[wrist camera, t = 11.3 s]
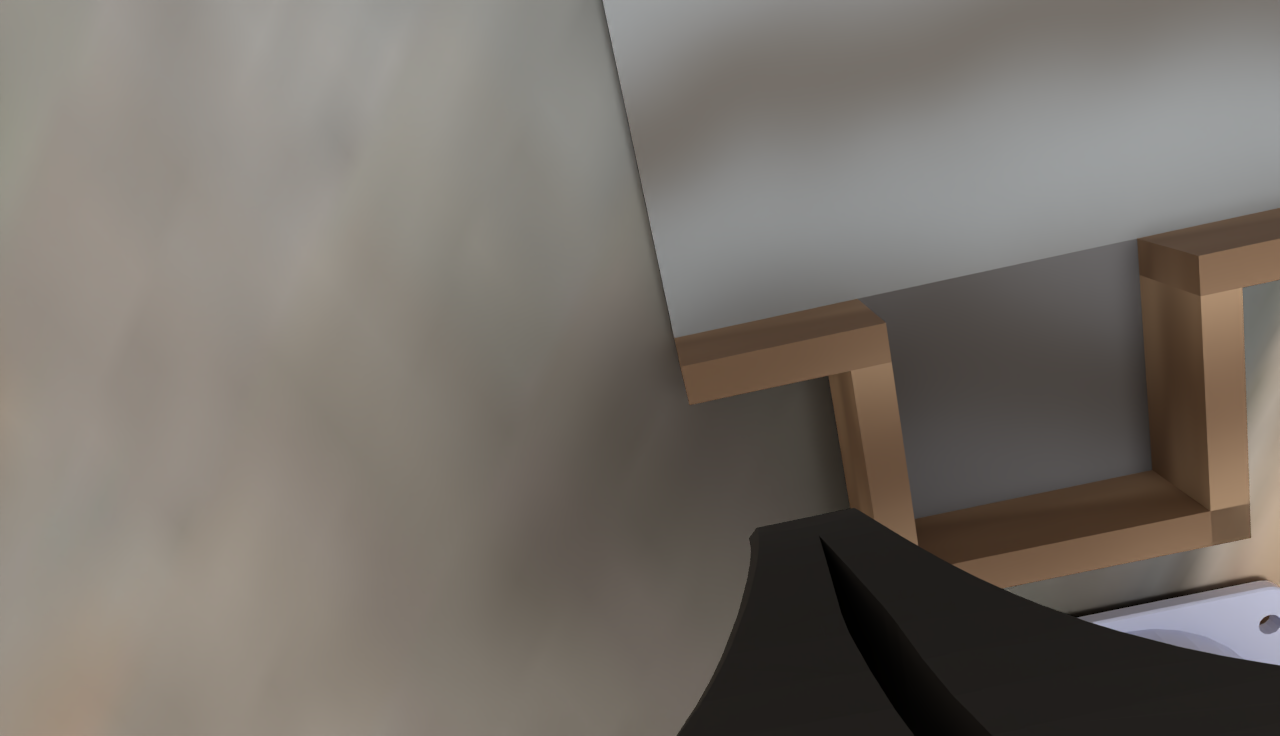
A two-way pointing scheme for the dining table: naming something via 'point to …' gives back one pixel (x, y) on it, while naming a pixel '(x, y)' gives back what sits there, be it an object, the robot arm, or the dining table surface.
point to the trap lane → (976, 250)
